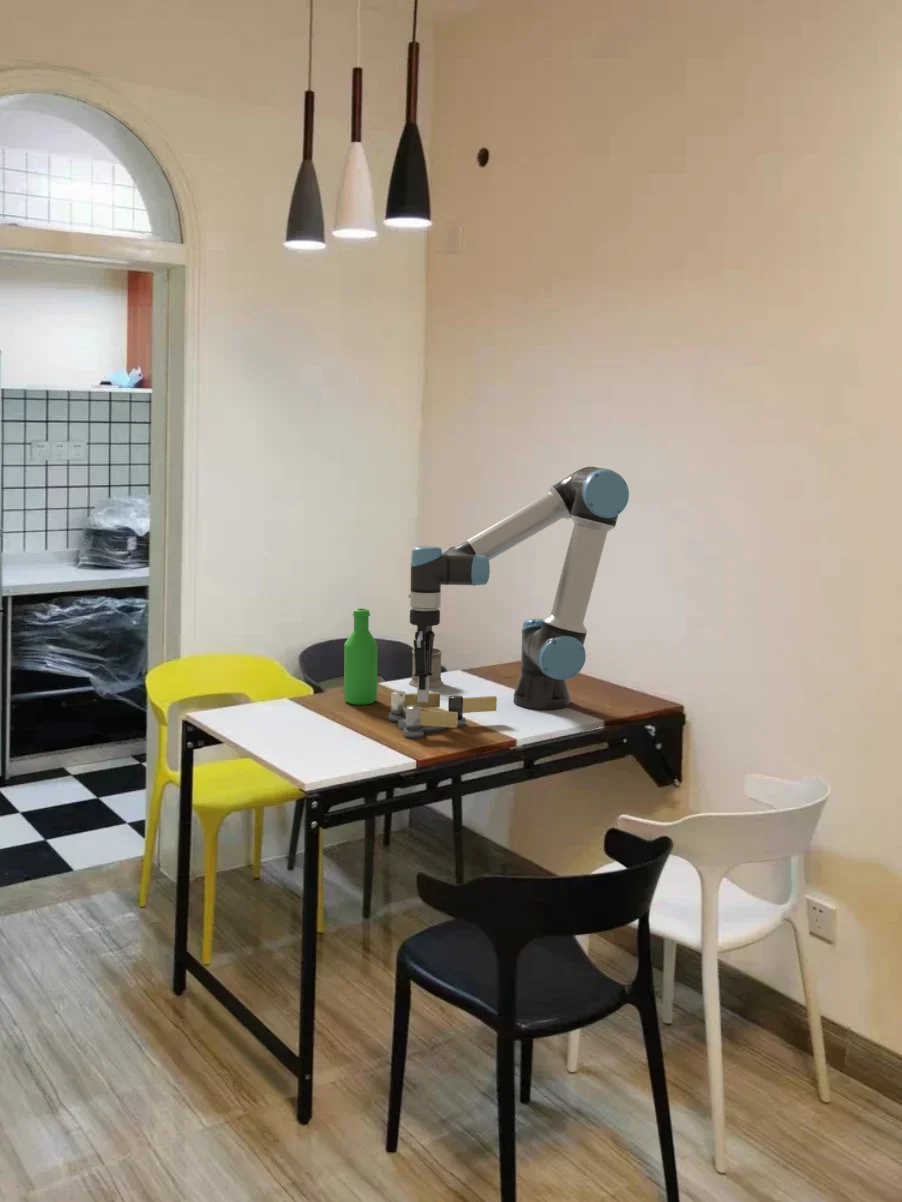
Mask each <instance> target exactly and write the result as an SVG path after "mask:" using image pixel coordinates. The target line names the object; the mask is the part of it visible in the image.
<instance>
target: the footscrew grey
mask: <svg viewBox="0 0 902 1202" xmlns="http://www.w3.org/2000/svg"><path fill="white" fill-rule="evenodd" d="M405 712H406V730H407V731H411V732H417V731H420V730H421V725H427V726H439V727H446V728H452V729H457V728H458V727H457V725H458V712H450V711H448V710H434V709H433V710H432V709H425V708H424V709H423V708H421V707H420V706H416V705H411V706H407V707H406V708H405Z"/></svg>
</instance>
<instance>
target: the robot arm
mask: <svg viewBox="0 0 902 1202" xmlns="http://www.w3.org/2000/svg"><path fill="white" fill-rule="evenodd" d="M629 498H630V492H629V487H628V484H627V482H626V480H625V479H624V477H623V476H622V475H620V474H619V473H618V472H616V471H614V470H612V469H609V468H603V467H602V468H601V467H596V466H586V467H582V468H580V469H578V470H576V471H574V472H573V473H571V474H569V475H568V476H566V477H564V478H563V479H562V480H560V481H558V482H557V483H555V484H553V485H552V486H551V487H549V490H548V492H547V493H546V494H544V495H542V496H541V497H539V498H537V499H536V500H534V501H532V502H530V503H529V504H527V505H525V506H524V507H522V508H520V509H519V510H517V511H515V512H513V513H512V514H510V515H508V516H507V517H505V518H503V519H501V520H500V521H498V522H497V523H494V524H493V525H491V526H489V527H487V528H486V529H484V530H483V531H480V532H479V533H477V534H475V535H474V536H472V537H470V538H469V539H467V540H466V541H463V542H462V543H461V544H458V545H457V546H451V547H448V548H446V549H445V550H444V551H443V552H442V548H441V547H440V546H437V545H436V546H435V545H432V546H430V545H417V546H414V547H413V548H412V551H411V561H410V594H408V596H407V597H408V598H409V599H410V602H409V604H410V605H409V606H410V608H411V609H410V610H409V623H410V624H411V625H413V626H416V627H417V628H416V631H415V633H414V639H413V646H414V647H413V648H414V649H415V670H416V672H415V674H414V676H418V684H417V687H416V688H417V692H416V693H417V702H429V693H430V688H429V676H428V675H432V674H433V673H430V671H431V670H432V668H431V667H432V655H433V648H434V642H435V635H436V633H435V632H434V631H433V627H435V626H439V624H440V623H441V610H440V609H439V608H441V602H442V601H441V598H442V596H441V593H442V591H441V588H442V587H441V586H443V585H445V586H449V585H450V586H452V585H453V586H454V585H456V586H472V587H473V586H474V587H475V586H483V585H487V584H488V583H489V580H490V573H491V572H490V571H491V568H490V567H491V566H490V561H491V560H492V559H495V558H496V557H499V556H500V555H502V554H504V553H505V552H507V551H508V550H510V549H511V548H513V547H515V546H517V545H519V544H520V543H523V542H524V541H526V540H527V539H529V538H531V537H533V536H534V535H536V534H537V533H539V532H541V531H543V530H545V529H546V528H548V527H550V526H551V525H553V524H554V523H556V522H558V521H560V520H562V519H566V520H570V519H571V520H572V522H573V527H572V531H571V535H570V539H569V543H568V547H567V549H566V550H567V551H566V554H565V558H564V562H563V566H562V569H561V573H560V576H559V580H558V581H559V582H558V585H557V588H556V593H555V595H554V599H553V602H552V603H553V604H552V608H551V611H550V614H549V615H548V616H546V617H544V618H527V619H525V620H524V621H522V629H521V659H520V660H521V661H520V665H521V666H520V675H519V679H518V681H517V684H516V686H515V688H514V692H513V703H514V704H515V705H516V706H518V707H519V706H520V707H522V708H526V709H533V710H559V709H564V708H566V707H567V708H568V707H569V705H570V703H571V695H570V691H569V689H568V685H567V681H566V680H568V679H571V678H574V677H575V676H577V675H578V674H579V673H580V672H581V671H582V669H584V665H585V663H586V657H587V655H586V650H585V649H586V648H585V647H584V644H585V641H586V639H587V638H586V637H587V633H588V629H587V628H586V627H585V624H584V621H585V618H586V614H587V611H588V606H589V602H590V598H591V594H592V592H593V587H594V583H595V580H596V576H597V572H598V569H599V565H600V561H601V559H602V554H603V551H604V546H605V543H606V540H607V535H608V533H609V532H610V531H611V530H613V529H615V527H616V525H617V521H618V518H619V515H620V514H621V513H622V512H623V511H624V510H625V509H626V507H627V505H628V503H629Z"/></svg>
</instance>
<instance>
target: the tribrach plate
mask: <svg viewBox="0 0 902 1202" xmlns="http://www.w3.org/2000/svg"><path fill="white" fill-rule="evenodd" d="M387 721H389V722H392V723H397V728H398V729H399V730H401V731H402V736H403V737H404V738H405V739H414V740H415V739H421V738H424V737H425V734H432V733H433V734H434V733H439V732H442V731H444V730H446V728H447V727H439V726H427V725H421V730H420V731H417V732H411V731H407V730H406V711H405V714H403V715H401V716H395V715H391V711H390V712H388V713H387ZM465 726H466V718H465V717H463V719H462V720H458V725H457V728H461V727H465Z"/></svg>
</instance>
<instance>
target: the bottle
mask: <svg viewBox="0 0 902 1202" xmlns="http://www.w3.org/2000/svg"><path fill="white" fill-rule="evenodd" d="M370 616H371V613H370V610H369V609H367V608H355V609H353V612H352V617H353V631H352V632H351V633H350V635H349V636H348V638H347V640H346V641H345V642H344V645H343V646H344V650H343V651H344V655H343V657H344V659H343V660H344V661H343V662H344V663H343V664H344V666H343V667H344V668H343V669H344V670H343V671H344V672H343V673H344V674H343V675H344V677H343V678H344V679H343V681H344V683H343V684H344V685H343V686H344V687H343V690H344V691H343V693H344V694H343V695H344V696H343V699H344V700H345V702H347V703H348V704H351V705H359V706H363V705H365V706H366V705H371V704H373V703H374V702H376V701H377V699H378V643H377V641H376V639H375V638H374V636H373V634H372V633H371V631H370V630H369V623H370V622H369V620H370V619H369V617H370Z"/></svg>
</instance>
